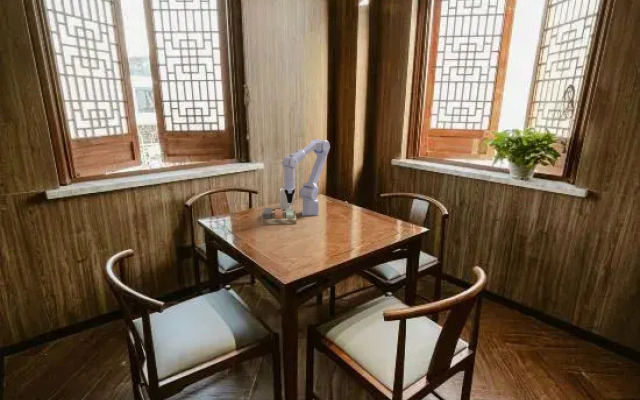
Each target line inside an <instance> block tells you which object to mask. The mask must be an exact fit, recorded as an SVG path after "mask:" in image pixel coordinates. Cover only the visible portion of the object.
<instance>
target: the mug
mask: <svg viewBox="0 0 640 400" xmlns="http://www.w3.org/2000/svg"><path fill="white" fill-rule="evenodd" d="M284 190H286V189H285V188H280V189H279V209H282V211H286V209H291V206H293V205H294V204H295V201H296V195H295V194H294V195H293V199H292V203H288V202H287V196H286V194H285V191H284Z"/></svg>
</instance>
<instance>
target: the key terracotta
mask: <svg viewBox="0 0 640 400" xmlns="http://www.w3.org/2000/svg"><path fill="white" fill-rule="evenodd" d="M274 211H275V216H274V219H283V214H282V211H283V210H282V209H280V208H276V209H274Z"/></svg>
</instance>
